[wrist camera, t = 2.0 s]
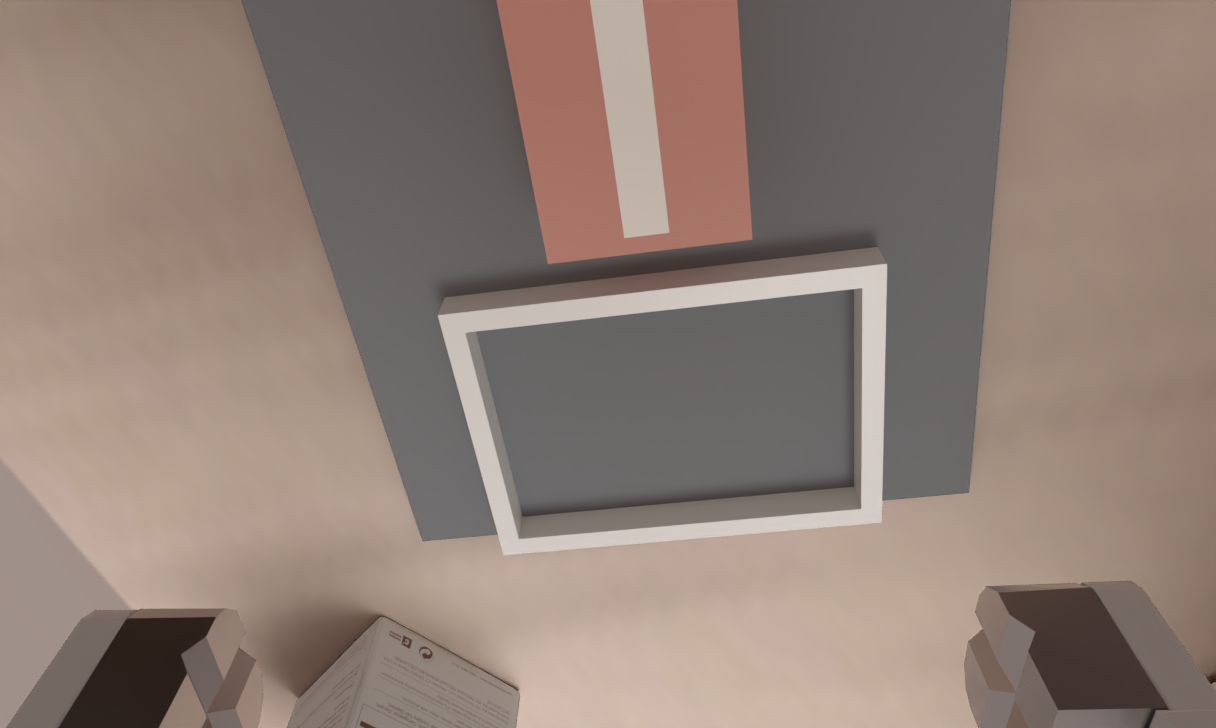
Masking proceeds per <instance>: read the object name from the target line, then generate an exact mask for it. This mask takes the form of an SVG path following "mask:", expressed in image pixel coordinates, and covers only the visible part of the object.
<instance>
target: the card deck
mask: <svg viewBox="0 0 1216 728" xmlns="http://www.w3.org/2000/svg"><path fill="white" fill-rule="evenodd" d="M496 1H497V6H498V11H499V16H500V21H501V27H502V32H503V37H504V42H505V47H506V52H507V57H508V62H509V67H510V73H511V78H512V83H513V88H514V93H515V98H516V103H517V108H518V113H519V119H520V124H521V129H522V134H523V139H524V144H525V149H526V154H527V159H528V165H529V170H530V175H531V180H532V185H533V190H534V195H535V200H536V205H537V211H538V216H539V221H540V226H541V231H542V236H543V241H544V246H545V251H546V257H547V262H548V264H553V263H561V262H570V261H578V260H586V259H595V258H603V257H611V256H620V255H628V254H637V253H645V252H653V251H662V250H670V249H678V248H687V247H695V246H704V245H712V244H720V243H729V242H737V241H745V240H752V225H751V209H750V194H749V178H748V163H747V147H746V131H745V116H744V100H743V85H742V69H741V53H740V38H739V22H738V6H737V0H496Z"/></svg>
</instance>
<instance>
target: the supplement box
mask: <svg viewBox="0 0 1216 728" xmlns="http://www.w3.org/2000/svg"><path fill="white" fill-rule="evenodd" d="M519 701H520V693H519V692H518V691H516V690H515V689H514V688H513V687H511V686H509V685H507V684H505V683H504V682H502V681H501V680H499V679H497V678H495V677H494V676H492V675H490V674H488V673H486V672H484V671H483V670H481V669H479V668H478V667H476V666H474V665H472V664H470V663H469V662H467V661H465V660H463V659H461V658H460V657H458V656H456V655H454V654H452V653H451V652H449V651H447V650H445V649H443V648H441V647H440V646H438V645H436V644H434V643H433V642H431V641H429V640H427V639H425V638H424V637H422V636H420V635H418V634H416V633H414V632H412V631H411V630H409V629H407V628H405V627H403V626H401V625H399V624H398V623H396V622H394V621H392V620H390V619H388V618H385V617H380V618H378V619H377V620H376V621H375V622H374V623H373V624H372V625H371V626H370V627H369V628H368V629H367V630H366V631H365V632H364V633H363V634H362V635H361V636H360V637H359V638H358V639H357V640H356V641H355V642H354V643H353V644H352V645H351V646H350V647H349V648H348V649H347V650H346V651H345V652H344V653H343V654H342V655H341V656H340V657H339V658H338V659H337V661H336V662H335V663H334V664H333V665H332V666H331V667H330V668H329V669H328V670H327V671H326V672H325V673H324V674H323V675H322V676H321V677H320V678H319V679H318V680H317V681H316V682H315V683H314V684H313V685H312V686H311V687H310V688H309V689H308V690H307V691H306V692H305V693H304V694H303V695H302V696H301V697H300V698H299V699H298V700H297V701H296V704H295V707H294V710H293V713H292V715H291V718H290V720H289V723H288V726H287V728H516V725H517V716H518V710H519Z"/></svg>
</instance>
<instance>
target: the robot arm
mask: <svg viewBox="0 0 1216 728" xmlns="http://www.w3.org/2000/svg"><path fill="white" fill-rule="evenodd" d="M975 613H976V615H977V617H978V619H979V622H980V624H981V626H982V628H983V629H982V630H981V631H980V632H979V633H978V634H976V635H975V636H974V637H973V638H972V639H971V640H969V641H968V646H967V651H966V657H965V662H964V667H965V683H966V691H967V695H968V699H969V703H970V707H971V710H972V713H973V715H974V718H975V720H976V723H977V726H978V728H1216V682H1214V683H1212V684H1210V683H1209V681H1208V680H1207V678H1206V677H1205V676H1204V674H1203V673H1202V671H1201V670H1200V669H1199V667H1198V666H1197V664H1196V663H1195V662H1194V660H1193V659H1192V657H1191V656H1190V655H1189V653H1188V652H1187V650H1186V649H1185V648H1184V646H1183V645H1182V643H1181V642H1180V641H1179V639H1178V638H1177V636H1176V635H1175V634H1174V632H1173V631H1172V629H1171V628H1170V627H1169V625H1168V624H1167V622H1166V621H1165V620H1164V618H1163V617H1162V615H1161V614H1160V613H1159V611H1158V610H1157V608H1156V607H1155V606H1154V604H1153V603H1152V601H1151V600H1150V599H1149V597H1148V596H1147V594H1146V593H1145V592H1144V590H1143V589H1142V588H1141V587H1140V586H1138V585H1137V584H1135V583H1134V582H1132V581H1116V582H1089V583H1081V584H1078V583H1060V584H1034V585H1008V586H986V587H985V589H984V590H983V591H982V593H981V594H980V595H979V599H978V603H977V607H976V611H975ZM245 633H246V631H245V629H244V627H243V624H242V622H241V620H240V617H239V615H238V613H237V611H235V610H230V609H139V610H94V611H93V612H91V613H90V614H88V615H87V616H85V617H84V618H82V619H81V620H80V621H79V623H78V624H77V626H76V627H75V628H74V630H73V631H72V633H71V634H70V636H69V637H68V639H67V640H66V641H65V643H64V644H63V646H62V647H61V649H60V650H59V652H58V653H57V655H56V656H55V658H54V659H53V660H52V662H51V664H50V665H49V666H48V668H47V669H46V670H45V672H44V673H43V675H42V676H41V678H40V679H39V681H38V682H37V684H36V685H35V686H34V688H33V689H32V691H31V692H30V694H29V695H28V697H27V698H26V700H25V701H24V702H23V704H22V705H21V707H20V708H19V710H18V711H17V713H16V714H15V715H14V717H13V719H12V720H11V722H10V723H9V724H8V726H7V727H6V728H258V725H259V722H260V715H261V708H262V702H263V687H262V677H261V673H260V670H259V667H258V664H257V661H256V660H255V659H254V658H252V657H251V656H250V655H248V654H247V653H246V652H244V651H243V650H242V649H240V648H239V646H240V644H241V642H242V639H243V637H244V635H245Z"/></svg>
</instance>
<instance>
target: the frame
mask: <svg viewBox="0 0 1216 728" xmlns="http://www.w3.org/2000/svg"><path fill="white" fill-rule="evenodd" d="M849 289H854V487H845V488H834V489H823V490H812V491H801V492H790V493H779V494H768V495H757V496H746V497H735V498H724V499H713V500H702V501H691V502H680V503H668V504H657V505H646V506H635V507H624V508H613V509H602V510H591V511H580V512H569V513H558V514H547V515H536V516H525V517H523V516H522V512H521V508H520V504H519V500H518V496H517V492H516V488H515V484H514V480H513V477H512V473H511V469H510V465H509V461H508V457H507V453H506V449H505V445H504V441H503V437H502V433H501V429H500V425H499V421H498V417H497V413H496V409H495V405H494V401H493V397H492V393H491V389H490V385H489V382H488V378H487V374H486V370H485V366H484V362H483V358H482V354H481V350H480V346H479V342H478V338H477V334H476V331H485V330H494V329H503V328H512V327H521V326H530V325H539V324H547V323H556V322H565V321H574V320H583V319H592V318H601V317H610V316H619V315H627V314H636V313H645V312H654V311H663V310H672V309H681V308H690V307H698V306H707V305H716V304H725V303H734V302H743V301H752V300H761V299H770V298H778V297H787V296H796V295H805V294H814V293H823V292H832V291H841V290H849ZM886 299H887V262H886V261H885V259H884V257H883V255H882V254H881V252H880V250H879V248H878V247H872V248H863V249H855V250H846V251H838V252H829V253H821V254H812V255H803V256H795V257H786V258H778V259H769V260H761V261H752V262H744V263H735V264H727V265H718V266H709V267H701V268H692V269H684V270H675V271H667V272H658V273H650V274H641V275H632V276H624V277H615V278H607V279H598V280H590V281H581V282H573V283H564V284H556V285H547V286H538V287H530V288H521V289H513V290H504V291H496V292H487V293H479V294H470V295H462V296H453V297H445V299H444V301H443V304H442V306H441V308H440V311H439V313H438V319H439V322H440V326H441V329H442V333H443V337H444V340H445V344H446V348H447V351H448V355H449V359H450V362H451V366H452V369H453V373H454V377H455V380H456V384H457V388H458V391H459V395H460V398H461V402H462V406H463V409H464V413H465V417H466V420H467V424H468V428H469V431H470V435H471V438H472V442H473V446H474V449H475V453H476V457H477V460H478V464H479V468H480V471H481V475H482V478H483V482H484V486H485V489H486V493H487V497H488V500H489V504H490V508H491V511H492V515H493V518H494V522H495V526H496V529H497V533H498V537H499V540H500V544H501V548H502V551H503V555H513V554H524V553H536V552H547V551H559V550H570V549H582V548H594V547H605V546H617V545H628V544H640V543H652V542H663V541H675V540H686V539H698V538H710V537H721V536H733V535H744V534H756V533H768V532H779V531H791V530H802V529H814V528H826V527H837V526H849V525H860V524H872V523H882V489H883V441H884V394H885V346H886Z"/></svg>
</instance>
